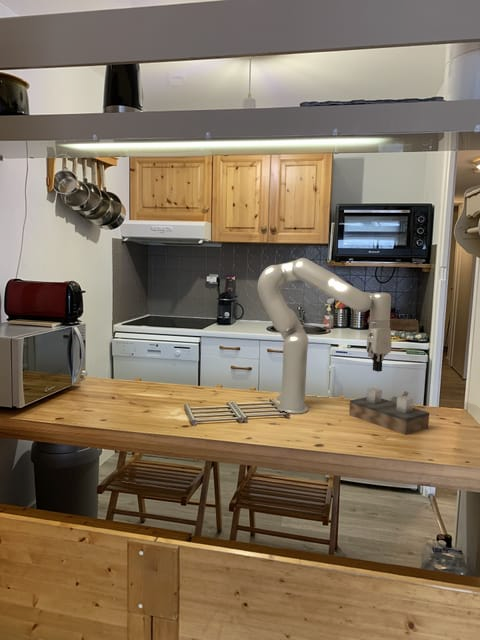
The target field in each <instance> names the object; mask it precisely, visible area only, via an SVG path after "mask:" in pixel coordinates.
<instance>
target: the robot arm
mask: <svg viewBox="0 0 480 640" xmlns="http://www.w3.org/2000/svg"><path fill="white" fill-rule="evenodd" d="M299 281H302V282H303V283H305V284H307V285H309V286H310V287H312V288H314V289H315V290H318V292H319V291H320V292H321V293H323V294H324V295H326V296H328V297H330V298H333V299H334V300H336V301H338V302H340V303H341V304H343V305H344V306H347V307H348V308H350V309H352V310H354V311H355V312H358V313H365V312H367V311H370V312H369V328H368V332H367V338H366V339H367V340H366V352H367V353H368V354H367V357H368V358H371V360H372V371H373V372H377V373H379V372H382V371H383V361H384V359H385V357H386V356H387V355H388V354H390V353H391V352H392V330H391V327H390V326H391V325H390V324H391V322H390V321H391V310H392V309H391V307H392V306H391V304H392V295H391V294H390V293H388V292H365V291H362V290H360V289H358V288H356V287H355V286H353V285H351V284H350V283H348V282H347V281H346V280H345V281H344V279H342V278H341V277H339V276H338V275H337V274H335V273H333V272H331V271H329V270H328V269H326V268H325V267H323V266H320V265H319V264H316V263H315V262H313V261H311V260H310V259H308V258H305V257H301V258H297V259H296V260H295V259H294V260H291V261H289V262H283V263H280V264H279V263H278V264H272V265H269V266H267V267H266V268H265V269H264V270H263V271H262V272H261V273H260V276H259V278H258V281H257V293H258V296H259V298H260V301H261V303H262V305H263V307H264V309H265V312H266V313H267V315H268V317H269V319H270V322H271V324H272V325H273V328H274V329H275V330H276V331H277V332H279V334H280V335H281V337H282V338H283V341H284V342H283V345H282V355H283V356H282V379H281V394H279V395H278V396H276V400H277V401H279V403H278V404H277V406H276V409H277V410H278V411H280V412H282V411H285V412H287V413H286V414H304V413H307V412H308V411H309V406H307V405H306V404H305V400H306V383H307V382H306V379H307V365H308V363H307V362H308V349H309V348H308V347H309V337H308V335H307V333H306V331H305V328H304V327H303V325H302V323H301V321H300V320H299V318H298V316H297V314H296V312H295V311H294V310H293V309H292V308H290V307H289V306H288V304H287V303H286V301H285V298H284V296H283V294H282V293H281V291H280V286H281V285H285V284H290V283H293V282H299ZM285 412H284V413H285Z"/></svg>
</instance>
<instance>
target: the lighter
mask: <svg viewBox="0 0 480 640" xmlns="http://www.w3.org/2000/svg"><path fill="white" fill-rule="evenodd" d="M409 393H410V392H408V390H407V391H406V390H405V391H404V392H403V394H402V395H401V397H402V396H405V397H408V395H409ZM397 397H398V396H392V397H391V398H389V401H392V402H395V403H397Z"/></svg>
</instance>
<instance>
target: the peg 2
mask: <svg viewBox="0 0 480 640" xmlns="http://www.w3.org/2000/svg"><path fill="white" fill-rule="evenodd" d="M396 397H397V408H396V411H399V412H402V413H405V414H407V413H411V412H412V408H413V404H414V403H413V402H414V398H412V397H408V396H407V397H405V396H402V395H401V396H396Z"/></svg>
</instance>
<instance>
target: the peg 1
mask: <svg viewBox="0 0 480 640" xmlns="http://www.w3.org/2000/svg"><path fill="white" fill-rule="evenodd" d="M382 395H383V391H382V389H381V388H380V389H379V388H375V387H371V388H370V387H369V388H367V389H366V397H367V400H366V402H370V403H373V404H377V403H381V398H382Z"/></svg>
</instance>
